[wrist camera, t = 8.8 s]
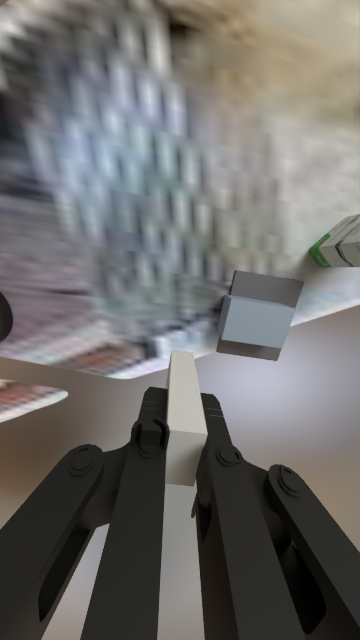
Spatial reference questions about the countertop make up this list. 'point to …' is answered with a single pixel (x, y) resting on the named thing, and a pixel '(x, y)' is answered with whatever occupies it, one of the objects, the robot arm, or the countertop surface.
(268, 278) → the mat
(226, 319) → the block
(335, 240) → the ink box
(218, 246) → the countertop surface
